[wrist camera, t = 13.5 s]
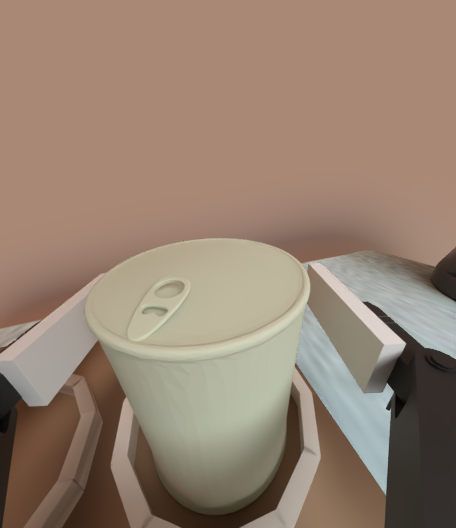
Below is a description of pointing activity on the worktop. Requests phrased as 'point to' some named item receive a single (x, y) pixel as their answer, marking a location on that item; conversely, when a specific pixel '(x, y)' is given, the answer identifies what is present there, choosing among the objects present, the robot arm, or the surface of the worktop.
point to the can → (206, 361)
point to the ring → (272, 524)
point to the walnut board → (161, 501)
